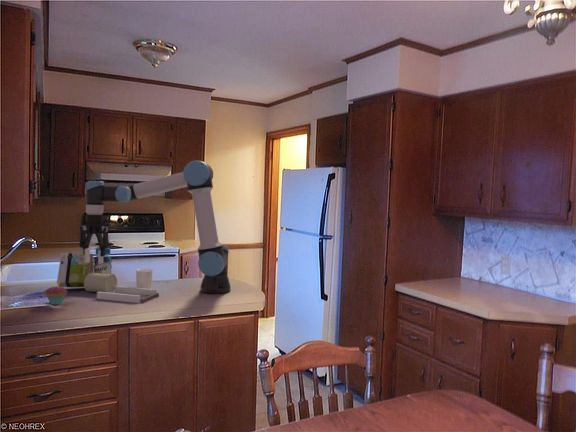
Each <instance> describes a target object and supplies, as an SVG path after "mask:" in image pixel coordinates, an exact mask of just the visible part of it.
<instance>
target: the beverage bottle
mask: <svg viewBox="0 0 576 432" xmlns="http://www.w3.org/2000/svg"><path fill="white" fill-rule="evenodd" d="M99 249H100V247H99V246H98V247H96V248H95V255H96V257H94V266H93V273H100V274H112V267H113V265H112V261H113V260H112V257H110V255H111V247H109V248H106V249H105V256H103V263H101V264H98V250H99Z"/></svg>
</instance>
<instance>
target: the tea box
mask: <svg viewBox="0 0 576 432" xmlns="http://www.w3.org/2000/svg"><path fill="white" fill-rule="evenodd" d="M59 259H60V260H59V265H58V266H59V267H58V273H57V279H56V283H57V284H58V281H59V277H60V278H61V279H60V285H59V287H63V288H84V280H85V277H86V276H87V275H88V274H89V273H94V265H95V263H94V260H95V257H94V254H93V253H90V262H87V263H85V255H83V253H77V252H76V253H75V252H74V253H73V252H72V253H71V252H61V253H60V258H59Z"/></svg>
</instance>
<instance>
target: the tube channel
mask: <svg viewBox="0 0 576 432" xmlns="http://www.w3.org/2000/svg"><path fill="white" fill-rule="evenodd" d="M155 293H157V289H155V288H151V289H146V288H137V287H133V286H121V285H117V286H115V291H114V292H113V293H109V292H96V299H97V300H104V301H105V300H107V301H114V302H115V301H116V302H124V303H136V304H140V303H141V297H142V296H146V295H152V294H155Z"/></svg>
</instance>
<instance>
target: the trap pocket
mask: <svg viewBox="0 0 576 432" xmlns="http://www.w3.org/2000/svg"><path fill="white" fill-rule="evenodd" d="M159 297H160V293H159V292H156V293H155V294H152V295H146V296H145V295H142V296H141V302H140V303H142V304H144V303H146V302H149V301H152V300H153V299H156V298H159Z"/></svg>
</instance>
